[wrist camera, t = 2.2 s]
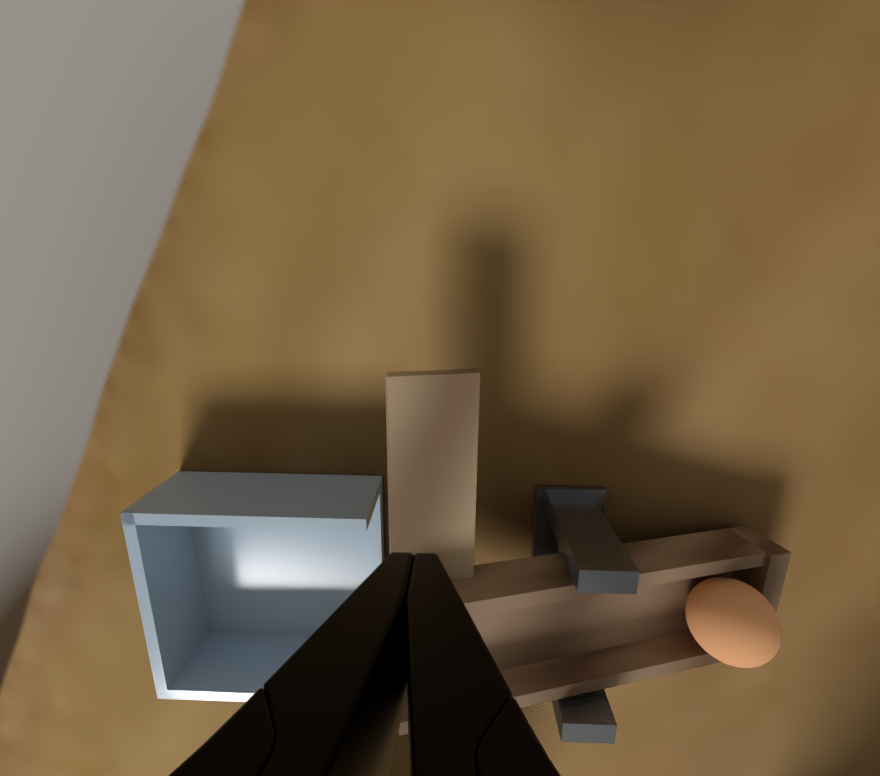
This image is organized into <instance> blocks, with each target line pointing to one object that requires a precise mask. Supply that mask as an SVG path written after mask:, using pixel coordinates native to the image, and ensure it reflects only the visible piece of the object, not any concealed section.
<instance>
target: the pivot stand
mask: <svg viewBox="0 0 880 776" xmlns="http://www.w3.org/2000/svg"><path fill="white" fill-rule="evenodd" d="M605 495H606V489H605V488H604V487H580V486H538V485H537V487H536V501H535V515H534V528H533V542H532V556H531V557H536V556H542V555H549V554H556V553H557V552H558V545H559V547H560V550H561V552H562V555H563V558H564V560H565V563H566V565H567V568H568V571H569V573H570V576H571V578H572V581H573V583H574V586H575V589H576V591H577V593H604V594H637V587H638V581H639V574H640V571H639V570H638V568H637V566H636V565H635V563H634V562H633V560H632V558H631V557H630V555H629V554H628V552H627V550H626V549H625V547H624V546H623V544H622V542H621V541H620V539H619V538H618V536H617V535H616V533H615V531H614V530H613V528H612V527H611V525H610V523H609V522H608V520H607V519H606V517H605V515H604V514H603V512H604V504H605ZM552 703H553V708H554V712H555V717H556V721H557V725H558V730H559V734H560V738H561V741H562V742H586V743H610V744H614V742H615V736H616V729H617V724H616V721H615V719H614V716H613V713H612V710H611V707H610V705H609V702H608V699H607V696H606V694H605V691H604V689H601V690H596V691H592V692H588V693H583V694H579V695H575V696H570V697H566V698H562V699H557V700H553V701H552Z"/></svg>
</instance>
